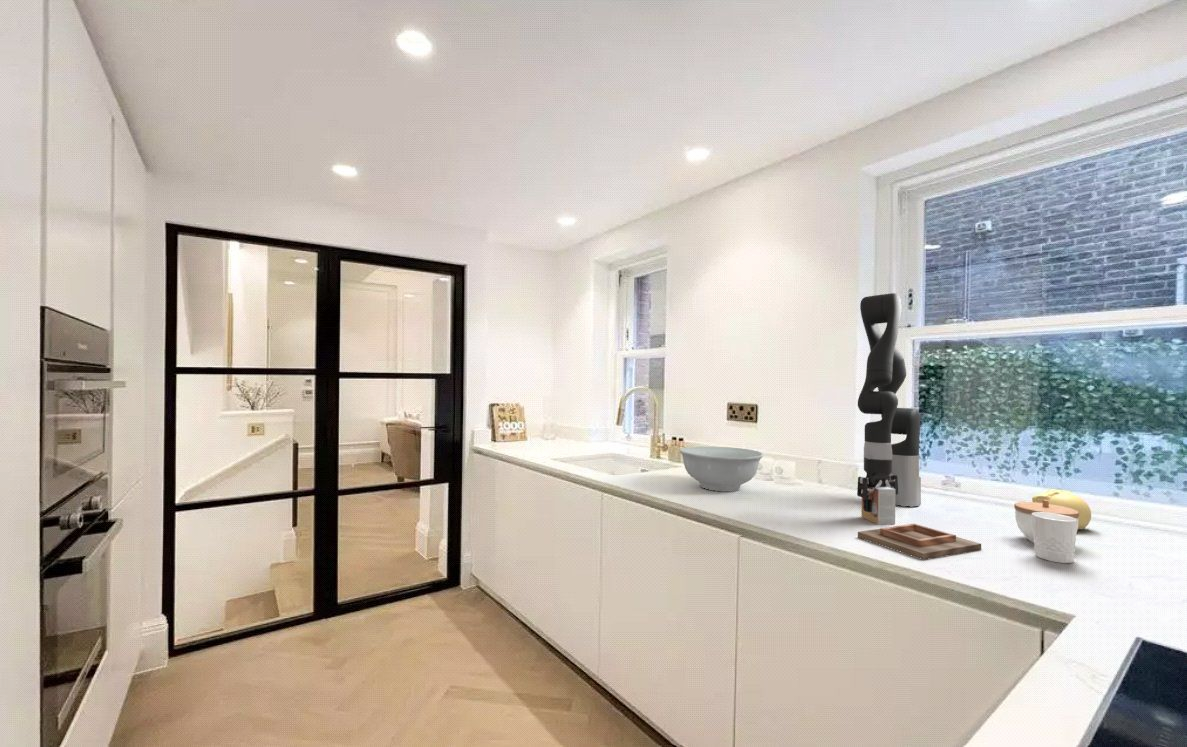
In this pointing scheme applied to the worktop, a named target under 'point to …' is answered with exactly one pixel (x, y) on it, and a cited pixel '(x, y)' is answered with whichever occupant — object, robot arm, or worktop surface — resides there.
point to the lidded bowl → (1027, 508)
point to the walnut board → (919, 541)
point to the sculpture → (1067, 504)
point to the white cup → (1054, 536)
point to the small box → (881, 506)
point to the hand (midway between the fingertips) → (877, 510)
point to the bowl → (721, 466)
